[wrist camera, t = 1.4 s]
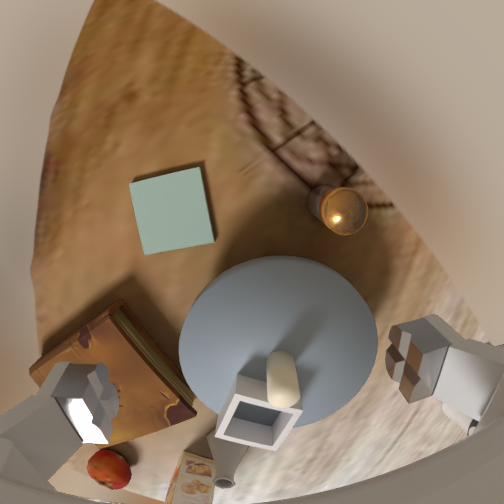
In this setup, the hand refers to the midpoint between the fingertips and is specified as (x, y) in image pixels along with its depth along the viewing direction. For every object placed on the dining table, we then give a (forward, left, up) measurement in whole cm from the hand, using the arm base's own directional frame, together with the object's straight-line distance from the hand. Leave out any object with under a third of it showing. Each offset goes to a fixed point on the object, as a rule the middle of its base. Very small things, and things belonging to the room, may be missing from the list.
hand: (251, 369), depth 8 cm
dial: (0, +14, -24) cm, 28 cm away
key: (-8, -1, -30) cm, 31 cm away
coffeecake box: (+21, +46, -30) cm, 59 cm away
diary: (+27, +20, -30) cm, 45 cm away
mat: (+10, -3, -30) cm, 31 cm away
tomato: (+37, +42, -30) cm, 64 cm away
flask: (+11, +35, -30) cm, 48 cm away
